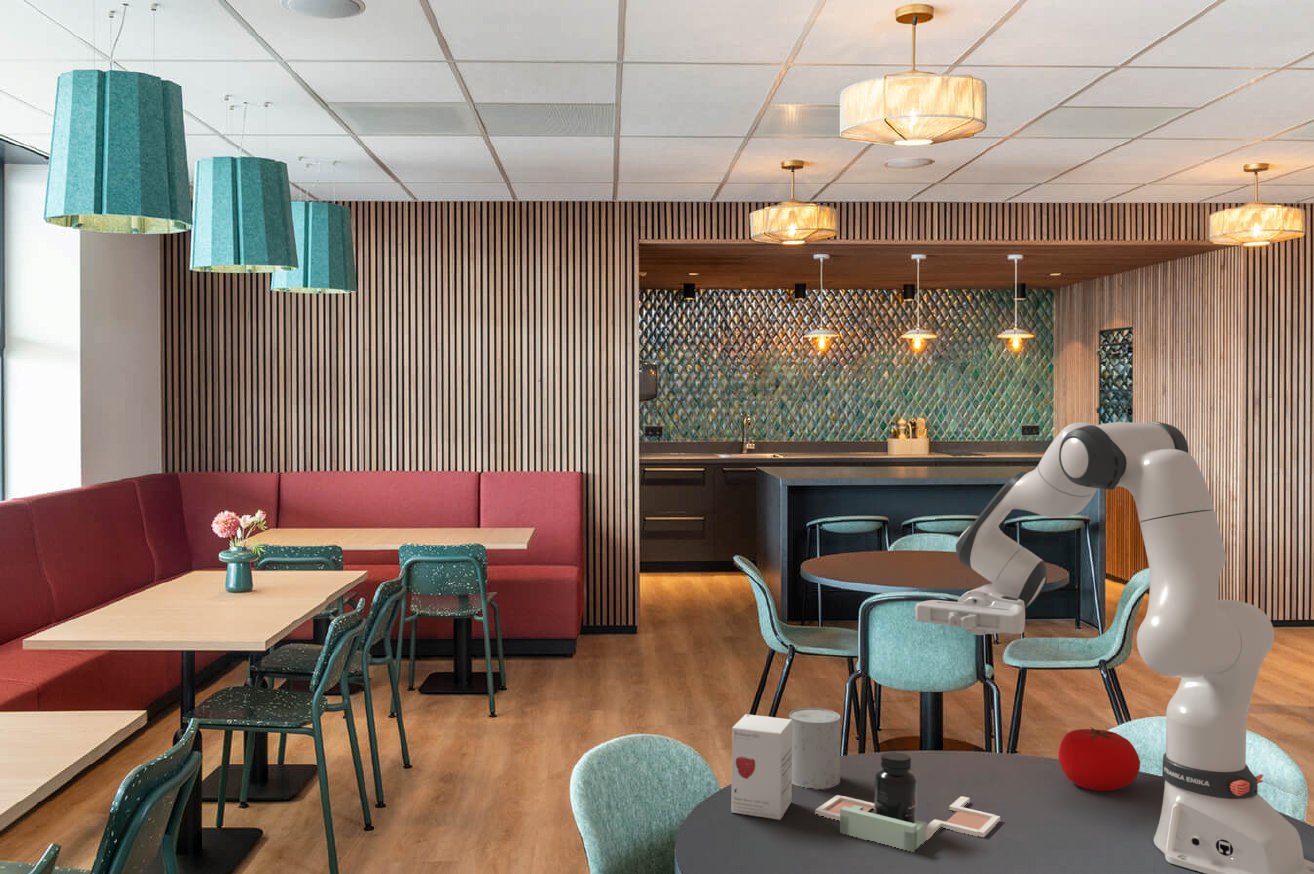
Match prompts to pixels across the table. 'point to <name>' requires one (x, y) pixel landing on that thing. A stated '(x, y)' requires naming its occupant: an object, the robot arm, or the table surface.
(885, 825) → the trap lane
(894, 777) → the supplement bottle
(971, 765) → the table surface
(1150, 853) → the table surface
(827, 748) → the speckled concrete cylinder
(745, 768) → the supplement box
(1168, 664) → the robot arm
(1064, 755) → the tomato
